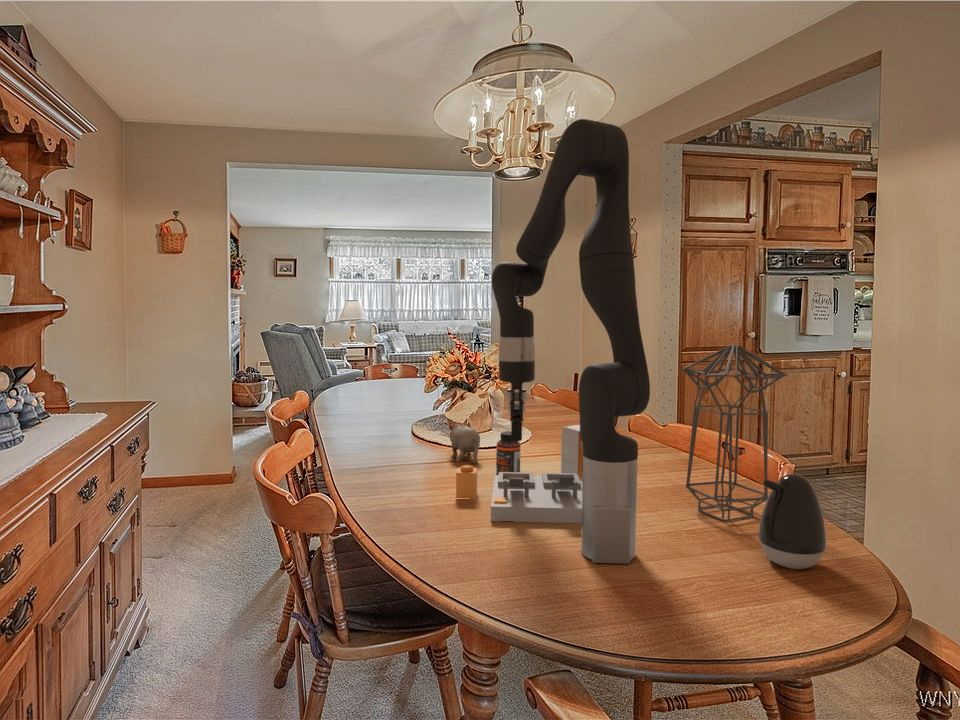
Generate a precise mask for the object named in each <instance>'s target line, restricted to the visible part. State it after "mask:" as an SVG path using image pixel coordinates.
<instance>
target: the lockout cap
mask: <svg viewBox="0 0 960 720" xmlns="http://www.w3.org/2000/svg"><path fill="white" fill-rule="evenodd" d="M455 480H456V481H455V482H456V483H455V484H456V485H455V499H456V498H469V499H476V500H477V496H478V467H474V466H473V465H470V464H469V465H468V464H464V465H461V466H460V467H457V469H456V473H455Z"/></svg>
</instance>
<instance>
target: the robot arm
mask: <svg viewBox="0 0 960 720" xmlns="http://www.w3.org/2000/svg"><path fill="white" fill-rule="evenodd" d="M629 153H630V152H629V143H628V139H627V136H626V133H625V131H624V130H623V129H622V128H621V127H619V126H617V125H615V124H611V123H606V122H602V121H597V120H593V119H586V118H578V119H574V120H572V121H571V122H570V123H569V124H568V125H567V126H566V127H565V128H564V131H563V132H562V134H561V136H560V138H559V140H558V143H557V145H556V148H555V151H554V155H553V156H552V160H551V163H550V165H549V169H548V170H547V174H546V178H545V181H544V184H543V186H542V189H541V193H540V196H539V198H538V201H537V203H536V207H534V208H535V209H534V211H533V213H532V216H531V217H530V220H529V221H528V223H527V225H526V227H525V229H524V230H523V232H522V233H521V236H520V237H519V240H518V242H517V243H516V247H515V248H516V249H515V252H516V255H517V256H518V258H519V259H520V260H521V261H522V262H520V261H519V262H518V261H517V262H515V261H513V262H512V261H501V262H500V263H498V264H497V265H495V267H494V269H493V271H492V274H491V287H492V291H493V294H494V295H493V296H494V299H495V302H496V306H497V311H498V314H499V328H500V329H499V330H500V331H499V335H500V337H499V343H498V380H499V381H500V382H504V383H510V384H511V385H510V386H511V388H509V389H507V391H506V395H507V397H506V398H507V400H508V413H509V414H510V417H509V419H510V424H511V425H510V426H511V428H510V431H511V439H512V441H519V442H521V441H522V439H523V423H524V413H525V412H526V399H527V389H526V388H525V389H524V388H523V384H524V383H531V382H533V381H535V378H536V373H535V371H536V365H535V364H536V362H535V361H536V355H535V354H536V347H535V340H534V338H535V337H534V335H535V334H534V333H535V324H534V323H535V320H534V313H533V311H532V310H531V309H530V308H525V307H522V306H520V305H519V303H518V300H517V298H516V297H525V298H526V297H531V296H535V295H536V294H537V293H538V292H539V291H540V290H541V288H542V287H543V285H544V280H545V275H546V271H547V268H548V264H549V260H550V258H551V256H552V255H553V253H554V251H555V250H556V248H557V247H558V245H559V243H560V241H561V240H562V238H563V235H564V232H565V228H566V197H567V193H568V190H569V188H570V186H571V185H572V183H573V182H574V180H575V179H576V178H577V177H578V176H582V177H589V178H593V179H594V182H595V189H596V190H595V192H596V194H595V195H596V203H595V204H596V205H595V206H596V207H595V211H594V214H593V216H592V220H591V221H590V223H589V224H588V227H587V230H586V232H585V233H584V236H583V238H582V241H581V244H580V246H579V251H578V263H579V275H580V285H581V290H582V292H583V294H584V297H585V298H586V300H587V302H588V304H589V306H590V307H591V309H592V311H593V312H594V314H595V315H596V316H597V318H598V319H599V321H600V323H601V324H602V326H603V327H604V328H605V331H606V333H607V335H608V338H609V341H610V346H611V350H612V351H611V352H612V356H613V362H598V363H592V364H589V365H588V366H586V367H585V368H584V369H583V371H582V373H581V376H580V380H579V385H578V409H579V425H580V435H581V440H582V444H583V481H582V523H581V541H580V542H581V544H580V546H581V547H580V549H581V550H580V552H581V554H582V555H583V556H584V557H585V558H588V559H589V560H591V562H592V563H595V564H625V565H626V564H628V565H629V564H631V561H632V560H633V559H635V557H636V541H637V540H636V535H637V533H636V532H637V499H638V498H637V497H638V496H637V495H638V465H639V464H638V463H639V462H638V461H639V445H638V442H637V440H636V439H634V438H632V437H630V436H627V435H624V434H621V433H619V432H618V431H617V430H616V425H615V418H618V417H619V418H620V417H628V416H636V415H640V414H642V413H643V412H644V411H645V410H646V409H647V407H648V406H649V403H650V398H651V382H650V375H649V369H648V363H647V359H646V353H645V348H644V343H643V338H642V331H641V326H640V324H641V323H640V318H639V317H640V316H639V310H638V301H637V291H636V290H637V288H636V273H635V261H634V251H633V245H632V244H633V243H632V233H631V218H630V206H629V205H630V204H629V203H630V202H629V201H630V200H629V199H630V197H629V192H630V191H629V189H630V188H629V184H630V182H629V179H630V177H629V176H630V173H629V172H630V154H629Z"/></svg>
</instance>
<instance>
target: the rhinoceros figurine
mask: <svg viewBox="0 0 960 720" xmlns="http://www.w3.org/2000/svg"><path fill="white" fill-rule="evenodd" d="M449 440H450V442H451V447H452V448H451V450H452V455H450V457H451V458H453V459H455V458H456V460H455V462H464V459H465V457H466V455H470V456H471V455H472V454H471V453H473V455H472V461H471V465H478V464H479V461H478V453H479V448H480V446H481V444H480V442H481V436H480V434H479V433H478V431H477V430H476V429H475V428H473V427H470V425H469V423H465V424H464V425H462V424H459V423H456V424H455V426H454V427H453V428H452V430H451V431H450V432H449ZM458 450H459V451H460V452H459V455H458Z"/></svg>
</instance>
